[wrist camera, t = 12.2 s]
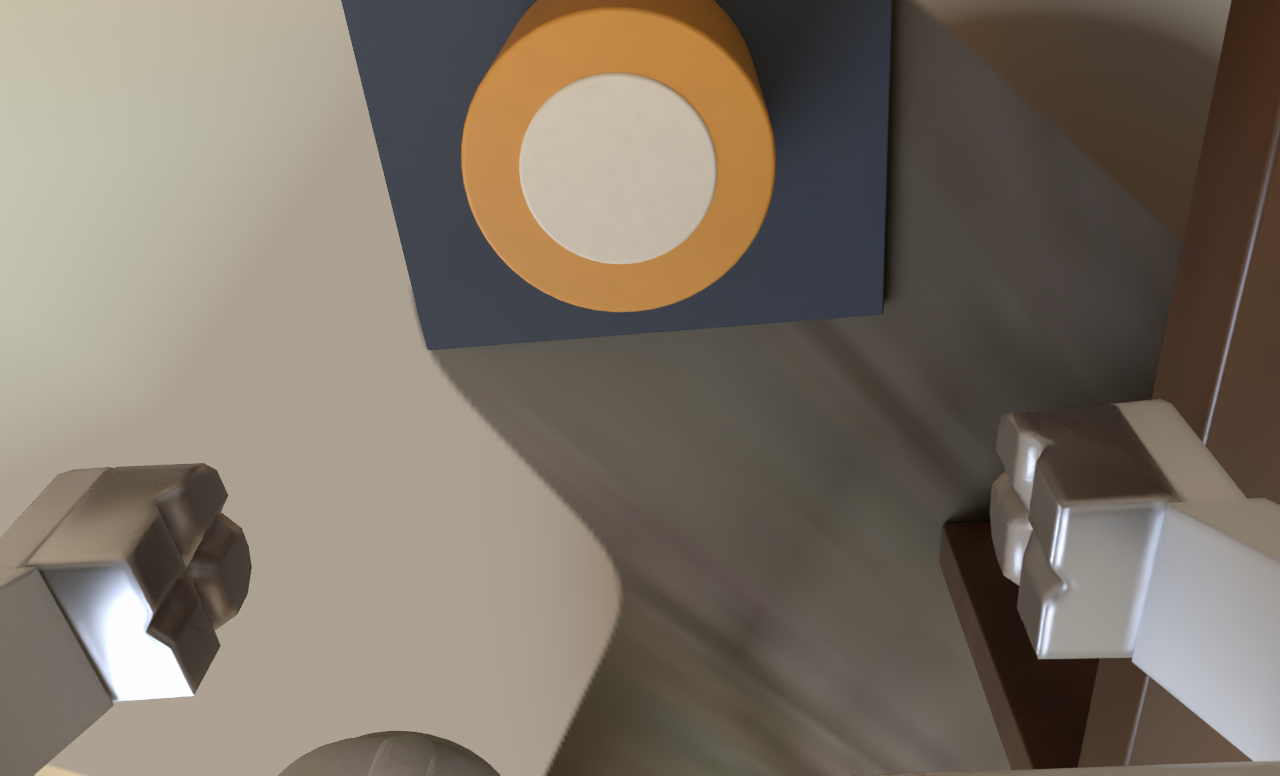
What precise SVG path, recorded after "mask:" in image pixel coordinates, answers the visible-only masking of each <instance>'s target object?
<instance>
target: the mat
mask: <svg viewBox="0 0 1280 776" xmlns="http://www.w3.org/2000/svg"><path fill="white" fill-rule="evenodd" d="M341 1H342V5H343V9H344V13H345V17H346V21H347V26H348V29H349V34H350V37H351V42H352V46H353V50H354V54H355V58H356V61H357V66H358V70H359V74H360V78H361V82H362V86H363V90H364V95H365V99H366V102H367V107H368V110H369V115H370V119H371V123H372V127H373V131H374V135H375V139H376V143H377V147H378V151H379V155H380V159H381V164H382V167H383V171H384V176H385V179H386V184H387V187H388V192H389V196H390V200H391V204H392V208H393V212H394V216H395V220H396V224H397V228H398V232H399V237H400V241H401V244H402V249H403V253H404V257H405V260H406V265H407V269H408V273H409V277H410V281H411V285H412V289H413V293H414V297H415V302H416V306H417V310H418V314H419V318H420V322H421V326H422V330H423V334H424V338H425V342H426V346H427V349H428V350H435V349H448V348H461V347H473V346H486V345H499V344H512V343H524V342H537V341H550V340H562V339H575V338H588V337H601V336H613V335H626V334H639V333H651V332H664V331H677V330H690V329H702V328H715V327H728V326H740V325H753V324H766V323H779V322H791V321H804V320H817V319H829V318H842V317H855V316H868V315H880V314H883V298H884V265H885V232H886V199H887V166H888V133H889V101H890V68H891V35H892V2H893V0H714V1H715V2H716V3H717V4H718V5H719V6H720V7H721V8H722V9H723V10H724V11H725V12H726V13H727V14H728V16H729V17H730V18H731V20H732V21H733V23H734V24H735V25H736V27H737V28H738V30H739V32H740V34H741V35H742V37H743V39H744V41H745V43H746V45H747V48H748V50H749V53H750V56H751V58H752V61H753V64H754V68H755V71H756V74H757V77H758V81H759V84H760V87H761V91H762V94H763V97H764V100H765V104H766V107H767V110H768V114H769V117H770V121H771V125H772V129H773V133H774V138H775V149H776V178H775V184H774V190H773V195H772V199H771V202H770V205H769V209H768V212H767V215H766V217H765V219H764V222H763V224H762V226H761V228H760V230H759V232H758V234H757V236H756V237H755V239H754V240H753V242H752V243H751V245H750V247H749V248H748V250H747V251H746V252H745V253H744V254H743V256H742V257H741V258H740V259H739V260H738V262H737V263H736V264H735V265H734V266H733V267H732V268H731V269H730V270H728V271H727V272H726V273H725V274H724V275H723V276H722V277H721V278H719V279H718V280H716V281H715V282H714V283H712V284H711V285H710V286H708V287H707V288H705V289H703V290H702V291H700V292H698V293H696V294H694V295H692V296H691V297H689V298H686V299H684V300H681V301H679V302H676V303H673V304H671V305H667V306H663V307H659V308H656V309H651V310H643V311H636V312H609V311H598V310H593V309H588V308H584V307H579V306H576V305H573V304H570V303H567V302H564V301H561V300H559V299H557V298H555V297H552V296H550V295H548V294H546V293H544V292H542V291H541V290H539V289H537V288H536V287H534V286H533V285H531V284H530V283H528V282H527V281H525V280H524V279H523V278H522V277H520V276H519V275H518V274H517V273H515V272H514V271H513V270H512V269H511V268H510V267H509V266H508V265H507V264H506V263H505V262H504V261H503V260H502V259H501V258H500V257H499V256H498V254H497V253H496V252H495V251H494V249H493V248H492V247H491V245H490V244H489V243H488V241H487V240H486V238H485V236H484V235H483V233H482V231H481V229H480V228H479V226H478V224H477V222H476V220H475V218H474V215H473V213H472V210H471V208H470V206H469V202H468V199H467V195H466V191H465V188H464V183H463V175H462V168H461V144H462V137H463V129H464V124H465V120H466V117H467V113H468V110H469V106H470V104H471V102H472V99H473V97H474V95H475V92H476V90H477V88H478V86H479V84H480V83H481V81H482V80H483V78H484V76H485V75H486V73H487V72H488V70H489V68H490V67H491V65H492V63H493V62H494V60H495V59H496V57H497V55H498V54H499V52H500V51H501V49H502V47H503V46H504V44H505V43H506V41H507V39H508V38H509V36H510V34H511V33H512V31H513V30H514V28H515V26H516V25H517V23H518V22H519V20H520V19H521V17H522V16H523V15H524V14H525V13H526V11H527V10H528V9H529V8H530V7H531V5H533V4H534V3H535V2H536V1H537V0H341Z"/></svg>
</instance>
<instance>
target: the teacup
mask: <svg viewBox="0 0 1280 776" xmlns="http://www.w3.org/2000/svg"><path fill="white" fill-rule="evenodd" d="M279 776H500V774H499V773H497V771H496V770H495V769H493V768H492V766H491V765H490V764H488V763H487V762H486V761H485V760H483V759H482V758H481V757H479V756H478V755H476V754H475V753H473V752H472V751H470V750H468V749H467V748H464V747H463V746H461V745H459V744H456V743H454V742H452V741H449V740H446V739H443V738H440V737H436V736H433V735H429V734H423V733H417V732H407V731H406V732H405V731H387V732H378V733H372V734H368V735H363V736H360V737H356V738H350V739H345V740H341V741H338V742H334V743H330V744H327V745H324V746H322V747H319V748H317V749H315V750H313V751H311V752H309V753H307V754H306V755H304V756H302V757H300V758H299V759H297V760H296V761H295V762H293V763H292V764H291V765H289V766H288V767H287V768H286V769H285V770H284V771H283V772H282V773H281V774H280V775H279Z"/></svg>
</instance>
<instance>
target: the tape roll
mask: <svg viewBox="0 0 1280 776" xmlns="http://www.w3.org/2000/svg"><path fill="white" fill-rule="evenodd" d="M461 168H462V175H463V183H464V188H465V191H466V195H467V199H468V202H469V206H470V208H471V210H472V213H473V215H474V218H475V220H476V222H477V224H478V226H479V228H480V229H481V231H482V233H483V235H484V236H485V238H486V240H487V241H488V243H489V244H490V245H491V247H492V248H493V249H494V251H495V252H496V253H497V254H498V256H499V257H500V258H501V259H502V260H503V261H504V262H505V263H506V264H507V265H508V266H509V267H510V268H511V269H512V270H513V271H514V272H515V273H517V274H518V275H519V276H520V277H522V278H523V279H524V280H525V281H527V282H528V283H530V284H531V285H533V286H534V287H536V288H537V289H539V290H541V291H542V292H544V293H546V294H548V295H550V296H552V297H555V298H557V299H559V300H561V301H564V302H567V303H570V304H573V305H576V306H579V307H584V308H588V309H593V310H598V311H609V312H636V311H643V310H651V309H656V308H659V307H663V306H667V305H671V304H673V303H676V302H679V301H681V300H684V299H686V298H689V297H691V296H692V295H694V294H696V293H698V292H700V291H702V290H703V289H705V288H707V287H708V286H710V285H711V284H712V283H714V282H715V281H716V280H718V279H719V278H721V277H722V276H723V275H724V274H725V273H726V272H727V271H728V270H730V269H731V268H732V267H733V266H734V265H735V264H736V263H737V262H738V260H739V259H740V258H741V257H742V256H743V254H744V253H745V252H746V251H747V250H748V248H749V247H750V245H751V243H752V242H753V240H754V239H755V237H756V236H757V234H758V232H759V230H760V228H761V226H762V224H763V222H764V219H765V217H766V215H767V212H768V209H769V205H770V202H771V199H772V195H773V190H774V184H775V178H776V149H775V138H774V133H773V129H772V125H771V121H770V117H769V114H768V110H767V107H766V104H765V100H764V97H763V94H762V91H761V87H760V84H759V81H758V77H757V74H756V71H755V68H754V64H753V61H752V58H751V56H750V53H749V50H748V48H747V45H746V43H745V41H744V39H743V37H742V35H741V34H740V32H739V30H738V28H737V27H736V25H735V24H734V23H733V21H732V20H731V18H730V17H729V16H728V14H727V13H726V12H725V11H724V10H723V9H722V8H721V7H720V6H719V5H718V4H717V3H716V2H715V1H714V0H537V1H536V2H535V3H534V4H533V5H531V7H530V8H529V9H528V10H527V11H526V13H525V14H524V15H523V16H522V17H521V19H520V20H519V22H518V23H517V25H516V26H515V28H514V30H513V31H512V33H511V34H510V36H509V38H508V39H507V41H506V43H505V44H504V46H503V47H502V49H501V51H500V52H499V54H498V55H497V57H496V59H495V60H494V62H493V63H492V65H491V67H490V68H489V70H488V72H487V73H486V75H485V76H484V78H483V80H482V81H481V83H480V84H479V86H478V88H477V90H476V92H475V95H474V97H473V99H472V102H471V104H470V106H469V110H468V113H467V117H466V120H465V124H464V129H463V137H462V144H461Z"/></svg>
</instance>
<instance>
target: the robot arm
mask: <svg viewBox="0 0 1280 776" xmlns="http://www.w3.org/2000/svg"><path fill="white" fill-rule="evenodd" d="M996 450H997V452H998V455H999V457H1000V459H1001V461H1002V463H1003V466H1004V468H1005V471H1004V472H1003V473H1002V474H1001V475H1000V476H999V477H998V478H997V479H996V480H995V481H994V482H993V484H992V488H991V502H990V520H991V533H992V540H993V544H994V548H995V552H996V556H997V559H998V562H999V565H1000V567H1001V570H1002V572H1003V575H1004V576H1005V577H1007V578H1008V579H1010V580H1011V581H1013V582H1014V583H1016V584H1017V585H1019V594H1018V602H1017V610H1018V612H1019V615H1020V617H1021V619H1022V622H1023V624H1024V627H1025V629H1026V631H1027V634H1028V636H1029V639H1030V641H1031V644H1032V646H1033V648H1034V651H1035V653H1036V656H1037V658H1038V659H1079V658H1132V662H1133V663H1134V664H1135V665H1136V666H1138V667H1139V668H1140V669H1141V670H1142V671H1144V672H1145V673H1146V674H1147V675H1149V676H1150V677H1151V678H1152V679H1153V680H1155V681H1156V682H1157V683H1158V684H1160V685H1161V686H1162V687H1163V688H1164V689H1166V690H1167V691H1168V692H1169V693H1171V694H1172V695H1173V696H1174V697H1175V698H1177V699H1178V700H1179V701H1180V702H1182V703H1183V704H1184V705H1185V706H1186V707H1188V708H1189V709H1190V710H1191V711H1193V712H1194V713H1195V714H1196V715H1198V716H1199V717H1200V718H1201V719H1202V720H1204V721H1205V722H1206V723H1207V724H1209V725H1210V726H1211V727H1212V728H1213V729H1215V730H1216V731H1217V732H1218V733H1220V734H1221V735H1222V736H1223V737H1224V738H1226V739H1227V740H1228V741H1229V742H1231V743H1232V744H1233V745H1234V746H1235V747H1237V748H1238V749H1239V750H1240V751H1242V752H1243V753H1244V754H1245V755H1246V756H1248V757H1249V758H1250V759H1251V760H1253V761H1251V762H1222V763H1193V764H1163V765H1137V766H1111V767H1084V768H1058V769H1032V770H1006V771H975V772H944V773H913V774H882V775H851V776H1280V505H1279V504H1277V503H1275V502H1273V501H1271V500H1268V499H1266V498H1252V499H1247V497H1246V496H1245V495H1244V494H1243V492H1242V491H1241V490H1240V489H1239V487H1238V486H1237V485H1236V484H1235V482H1234V481H1233V480H1232V479H1231V477H1230V476H1229V475H1228V474H1227V472H1226V471H1225V470H1224V469H1223V467H1222V466H1221V465H1220V464H1219V462H1218V461H1217V460H1216V458H1215V457H1214V456H1213V455H1212V453H1211V452H1210V451H1209V450H1208V448H1207V447H1206V446H1205V445H1204V443H1203V442H1202V441H1201V440H1200V438H1199V437H1198V436H1197V435H1196V433H1195V432H1194V431H1193V430H1192V428H1191V427H1190V426H1189V425H1188V423H1187V422H1186V421H1185V420H1184V418H1183V417H1182V416H1181V415H1180V413H1179V412H1178V411H1177V410H1176V408H1175V407H1174V406H1173V405H1172V404H1171V403H1169V402H1167V401H1165V400H1162V399H1155V400H1144V401H1134V402H1124V403H1113V404H1108V405H1101V406H1088V407H1076V408H1064V409H1051V410H1039V411H1026V412H1014V413H1003V414H1002V417H1001V420H1000V423H999V426H998V432H997V440H996ZM227 497H228V494H227V492H226V490H225V487H224V485H223V483H222V481H221V479H220V477H219V474H218V472H217V470H215V469H213V468H212V467H210V466H207V465H206V464H204V463H200V464H178V465H153V466H132V467H131V466H130V467H116V468H110V467H106V468H92V469H79V470H72V471H68V472H65V473H61V474H58V475H57V476H56V477H55V479H53V481H52V482H51V483H50V484H49V485H48V486H47V487H46V488H45V489H44V491H43V492H42V493H41V494H40V495H39V496H38V497H37V498H36V499H35V501H33V503H32V504H31V505H30V506H29V507H28V508H27V509H26V510H25V512H23V514H22V515H21V516H20V517H19V518H18V519H17V520H16V521H15V522H14V524H13V525H12V526H11V527H10V528H9V529H8V530H7V531H6V532H5V534H4V535H3V536H2V537H1V538H0V776H33V775H35V774H36V773H37V772H38V771H39V770H40V769H42V768H43V767H44V766H45V765H46V764H47V763H48V762H50V760H52V759H53V758H54V757H55V756H56V755H58V754H59V753H60V752H61V751H62V750H63V749H64V748H66V747H67V746H68V745H69V744H70V743H71V742H72V741H74V740H75V739H76V738H77V737H78V736H79V735H80V734H82V733H83V732H84V731H85V730H86V729H87V728H89V727H90V726H91V725H92V724H93V723H94V722H95V721H97V720H98V719H99V718H100V717H101V716H102V715H103V714H105V713H106V712H107V711H108V710H109V709H110V708H111V707H113V703H112V702H113V701H127V700H141V699H154V698H169V697H183V696H194V694H195V692H196V690H197V689H198V687H199V685H200V683H201V681H202V679H203V677H204V676H205V674H206V672H207V670H208V668H209V666H210V664H211V662H212V661H213V659H214V657H215V655H216V653H217V651H218V650H219V647H220V643H219V641H218V638H217V636H216V633H215V630H216V629H218V628H219V627H220V626H222V625H223V624H225V623H226V622H227V621H229V620H230V619H231V618H233V617H234V616H235V615H237V614H238V612H239V610H240V608H241V606H242V604H243V602H244V600H245V598H246V596H247V593H248V588H249V581H250V574H251V560H250V554H249V546H248V544H247V541H246V539H245V536H244V533H243V531H242V528H240V527H239V526H238V525H237V524H236V523H234V522H233V521H232V520H230V519H229V518H228V517H226V516H225V515H224V514H222V513H221V511H222V508H223V506H224V504H225V501H226V499H227Z"/></svg>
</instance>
